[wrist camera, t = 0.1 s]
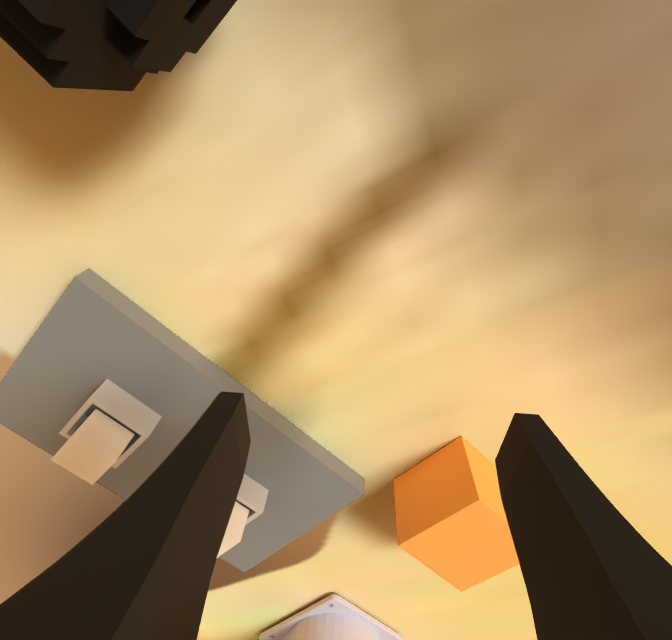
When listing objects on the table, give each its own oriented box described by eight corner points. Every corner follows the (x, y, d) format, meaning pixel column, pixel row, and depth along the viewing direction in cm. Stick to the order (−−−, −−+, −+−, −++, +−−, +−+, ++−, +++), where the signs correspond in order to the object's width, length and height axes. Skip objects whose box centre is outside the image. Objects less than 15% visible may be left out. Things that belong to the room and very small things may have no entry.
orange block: (448, 522, 28) (461, 591, 24) (393, 479, 27) (397, 545, 23) (516, 484, 26) (543, 552, 22) (461, 435, 25) (479, 499, 21)
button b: (112, 456, 24) (92, 485, 22) (74, 432, 23) (50, 459, 21) (134, 434, 23) (115, 462, 21) (95, 408, 22) (72, 435, 20)
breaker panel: (248, 556, 31) (238, 595, 29) (-5, 398, 26) (-44, 429, 23) (364, 478, 27) (364, 517, 25) (89, 268, 21) (52, 289, 19)
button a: (225, 528, 26) (214, 559, 24) (193, 508, 25) (180, 538, 24) (249, 510, 25) (240, 541, 23) (217, 489, 24) (205, 519, 23)
